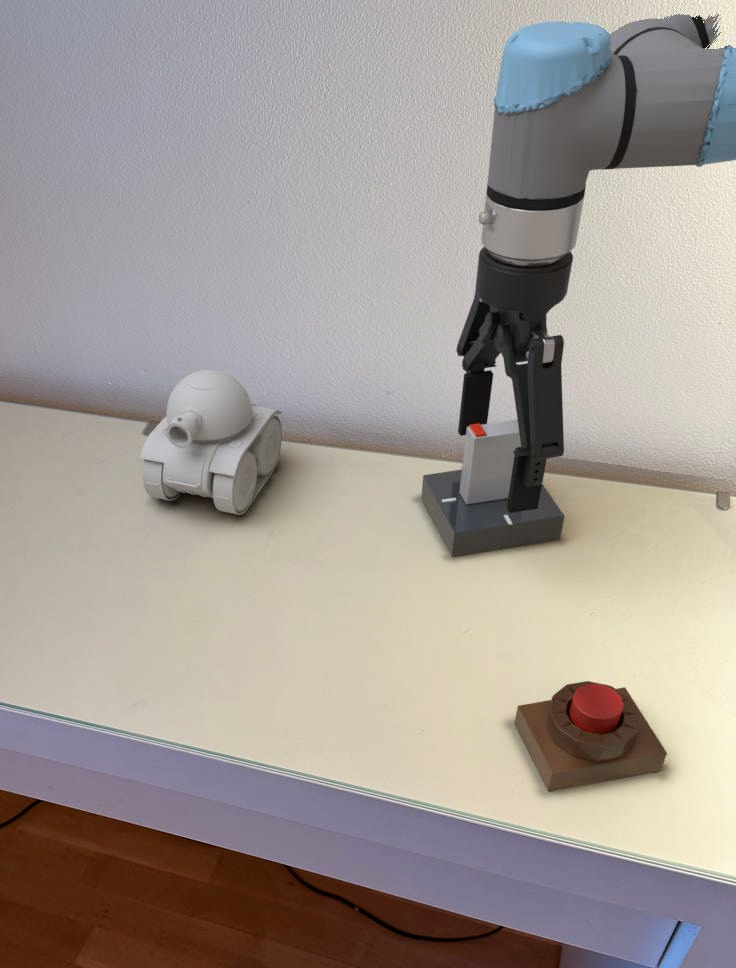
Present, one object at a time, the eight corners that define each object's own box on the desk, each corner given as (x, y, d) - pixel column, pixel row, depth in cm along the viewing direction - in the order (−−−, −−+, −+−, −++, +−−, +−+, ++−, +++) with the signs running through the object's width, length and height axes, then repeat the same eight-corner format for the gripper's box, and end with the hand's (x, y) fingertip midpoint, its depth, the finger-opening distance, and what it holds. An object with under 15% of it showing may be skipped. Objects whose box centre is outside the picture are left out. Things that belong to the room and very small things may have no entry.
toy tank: (233, 533, 98) (223, 421, 89) (141, 514, 101) (123, 404, 92) (286, 456, 107) (282, 348, 98) (201, 440, 111) (189, 335, 102)
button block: (619, 705, 78) (630, 670, 75) (660, 771, 73) (673, 737, 70) (513, 723, 77) (520, 689, 75) (547, 791, 72) (556, 758, 70)
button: (606, 695, 74) (610, 679, 73) (627, 729, 72) (632, 714, 70) (561, 703, 74) (565, 687, 73) (581, 737, 71) (585, 722, 70)
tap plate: (521, 483, 101) (525, 457, 99) (560, 541, 94) (565, 514, 92) (420, 498, 100) (422, 473, 98) (452, 558, 93) (455, 531, 91)
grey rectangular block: (516, 483, 96) (527, 415, 91) (524, 496, 95) (536, 427, 89) (459, 492, 96) (466, 424, 90) (466, 505, 94) (474, 436, 89)
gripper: (434, 201, 87) (419, 409, 102) (542, 320, 69) (505, 552, 84) (514, 191, 88) (487, 399, 102) (641, 307, 70) (587, 539, 84)
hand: (495, 468), depth 93 cm, fingers open, 13 cm apart
